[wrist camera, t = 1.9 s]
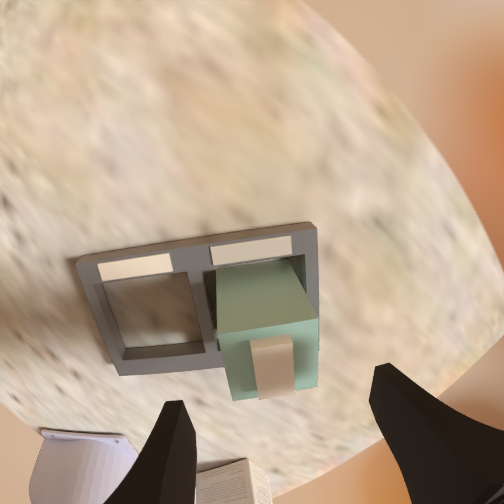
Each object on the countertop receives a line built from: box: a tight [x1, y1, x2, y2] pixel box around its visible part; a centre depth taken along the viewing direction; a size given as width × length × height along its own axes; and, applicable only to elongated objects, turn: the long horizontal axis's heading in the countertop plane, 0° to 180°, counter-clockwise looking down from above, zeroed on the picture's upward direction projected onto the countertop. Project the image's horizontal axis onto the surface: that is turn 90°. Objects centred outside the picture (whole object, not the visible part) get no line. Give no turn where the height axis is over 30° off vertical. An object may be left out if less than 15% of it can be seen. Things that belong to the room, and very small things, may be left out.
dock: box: [75, 222, 319, 376], centre depth 18 cm, size 13×8×1 cm, turn 96°
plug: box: [216, 259, 318, 401], centre depth 15 cm, size 4×4×7 cm
